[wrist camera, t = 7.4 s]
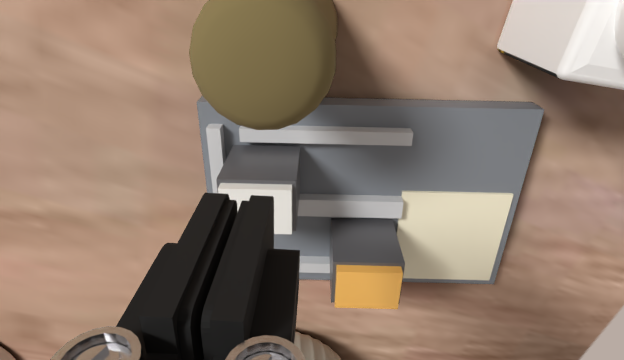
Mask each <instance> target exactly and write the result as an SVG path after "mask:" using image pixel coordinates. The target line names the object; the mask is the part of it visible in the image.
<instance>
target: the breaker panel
mask: <svg viewBox="0 0 624 360" xmlns="http://www.w3.org/2000/svg"><path fill="white" fill-rule="evenodd" d="M197 109H198V117H199V126H200V135H201V143H202V152H203V160H204V169H205V177H206V186H207V193H218V191H217V182H216V179H217V177H218V175H219V173H220V171H221V169H222V167H223V165H224V163H225V161H226V159H227V157H228V155H229V153H230V151H231V149H232V147H233V145H259V146H300V196H299V207H298V218H297V228H296V231H292V234H274V249H287V250H300V268H299V279H312V280H330V257H329V253H330V231H331V218H355V219H392V220H393V224H394V227H395V230H396V234H397V237H398V241H399V244H400V248H401V251H402V254H403V258H404V261H405V268H404V275H403V281H402V282H431V283H470V284H494V282H495V278H496V275H497V271H498V268H499V264H500V261H501V258H502V254H503V251H504V247H505V244H506V240H507V237H508V233H509V230H510V227H511V223H512V220H513V216H514V213H515V209H516V206H517V203H518V199H519V196H520V192H521V189H522V185H523V182H524V178H525V175H526V172H527V168H528V165H529V161H530V158H531V154H532V151H533V148H534V144H535V141H536V137H537V134H538V130H539V127H540V124H541V120H542V117H543V113H544V109H543V108H541V107H539V106H538V105H536V104H535V103H533V102H505V101H459V100H413V99H368V98H324V99H323V100H322V102H321V103H320V104H319V106H318V107H317V109H315V110H314V111H313V112H311V113H310V114H309V115H307V116H306V117H305V118H303V119H302V120H301V121H299V122H298V123H296V124H293V125H290V126H287V127H284V128H281V129H278V130H255V129H251V128H247V127H244V126H240V125H237V124H235V123H233V122H232V121H230V120H228V119H227V118H225V117H224V116H222V115H220V114H219V113H217V111H216V110H215V109H214V108H213V107H212V106H211V105H210V104H209V103H208V101H207V100H206V99H205V98H204V97H203V96H202V97H201V98H200V99H199V100H198V101H197Z"/></svg>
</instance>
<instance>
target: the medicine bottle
mask: <svg viewBox="0 0 624 360" xmlns="http://www.w3.org/2000/svg"><path fill="white" fill-rule="evenodd" d="M497 48H498V50H499V52H501V53H504V54H506V55H508V56H510V57H513V58H515V59H517V60H519V61H521V62H524V63H526V64H528V65H530V66H533V67H535V68H537V69H539V70H542V71H544V72H546V73H548V74H550V75H553V76H555V77H557V78H559V79H562V80H568V81H574V82H580V83H585V84H591V85H597V86H603V87H609V88H615V89H621V90H624V0H513V2H512V4H511V7H510V10H509V13H508V16H507V19H506V21H505V24H504V27H503V30H502V33H501V35H500V38H499V41H498V44H497Z"/></svg>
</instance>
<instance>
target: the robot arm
mask: <svg viewBox="0 0 624 360" xmlns="http://www.w3.org/2000/svg"><path fill="white" fill-rule="evenodd" d="M299 268H300V250H287V249H274V197H273V196H258V195H251V196H250V199H249V201H244V200H243V201H242V202H241V204H240V207H239V210H238V211H237V201H236V200H230V198H229V195H228V194H222V193H205V194H204V195H203V197H202V199H201V200H200V202H199V204H198V206H197V208H196V210H195V212H194V213H193V215H192V217H191V219H190V221H189V223H188V225H187V227H186V228H185V230H184V232H183V234H182V236H181V238H180V240H179V241H178V243H167V244H165V245H164V246H163V247H162V249H161V250H160V252H159V254H158V256H157V257H156V259H155V261H154V262H153V264H152V266H151V268H150V269H149V271H148V273H147V274H146V276H145V278H144V280H143V281H142V283H141V285H140V287H139V288H138V290H137V292H136V293H135V295H134V297H133V299H132V300H131V302H130V304H129V305H128V307H127V309H126V311H125V312H124V314H123V316H122V317H121V319H120V321H119V323H118V324H117V326H116V327H109V326H108V327H103V328H97V329H93V330H91V331H88V332H85V333H83V334H80V335H79V336H77V337H75V338H74V339H72V340H71V341H69V342H67V343H66V344H65V345H64V346H63V347H62V348H61V349H60V350H59V351H58V352H56V354H55V355H54V356H53V357H52V358H51V359H50V360H305V356H304V355H303V353H302V352H301V351H300V349H299V348H298V347H297V346H296V345H294V340H295V328H296V316H297V304H298V289H299ZM0 360H16V359H15V358H14V357H13V356H12V355H11V354H10V353H9V352H8V351H6V350H5V349H4V348H2V347H1V346H0Z"/></svg>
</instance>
